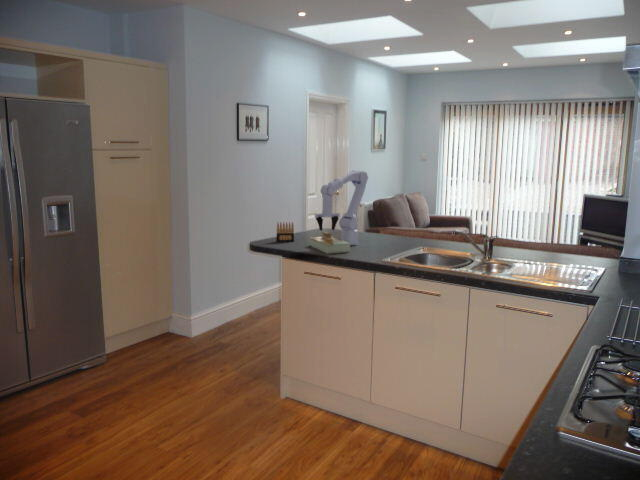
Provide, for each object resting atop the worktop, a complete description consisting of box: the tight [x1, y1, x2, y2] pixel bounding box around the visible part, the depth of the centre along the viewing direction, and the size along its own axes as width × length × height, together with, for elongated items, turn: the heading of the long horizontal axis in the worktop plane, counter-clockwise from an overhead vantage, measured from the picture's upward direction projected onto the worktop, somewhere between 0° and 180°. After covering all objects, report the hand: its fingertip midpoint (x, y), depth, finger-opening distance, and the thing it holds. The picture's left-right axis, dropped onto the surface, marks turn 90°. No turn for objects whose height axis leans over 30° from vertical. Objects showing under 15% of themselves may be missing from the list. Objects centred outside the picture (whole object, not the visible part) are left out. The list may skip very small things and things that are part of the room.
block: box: [324, 237, 333, 245], centre depth 282 cm, size 3×6×3 cm, turn 24°
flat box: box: [309, 238, 351, 255], centre depth 294 cm, size 14×24×5 cm, turn 24°
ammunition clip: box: [275, 221, 295, 243], centre depth 313 cm, size 11×2×12 cm, turn 102°
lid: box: [309, 231, 343, 244], centre depth 297 cm, size 14×16×4 cm
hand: (327, 229), depth 296 cm, fingers open, 7 cm apart
